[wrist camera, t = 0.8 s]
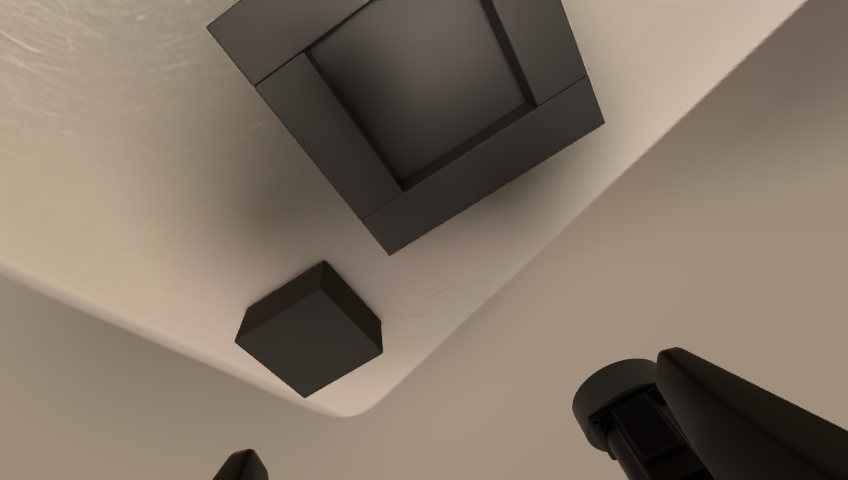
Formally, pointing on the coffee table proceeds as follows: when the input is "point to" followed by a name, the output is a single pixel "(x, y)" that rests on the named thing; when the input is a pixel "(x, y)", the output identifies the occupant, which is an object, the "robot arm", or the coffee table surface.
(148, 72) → the coffee table surface
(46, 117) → the coffee table surface
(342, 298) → the black angular block
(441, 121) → the base pad
